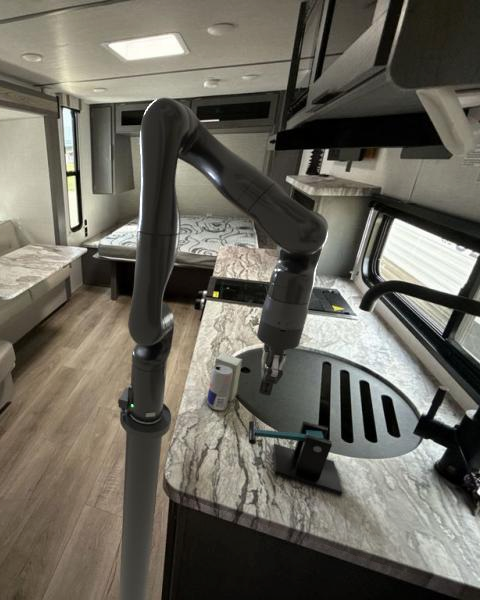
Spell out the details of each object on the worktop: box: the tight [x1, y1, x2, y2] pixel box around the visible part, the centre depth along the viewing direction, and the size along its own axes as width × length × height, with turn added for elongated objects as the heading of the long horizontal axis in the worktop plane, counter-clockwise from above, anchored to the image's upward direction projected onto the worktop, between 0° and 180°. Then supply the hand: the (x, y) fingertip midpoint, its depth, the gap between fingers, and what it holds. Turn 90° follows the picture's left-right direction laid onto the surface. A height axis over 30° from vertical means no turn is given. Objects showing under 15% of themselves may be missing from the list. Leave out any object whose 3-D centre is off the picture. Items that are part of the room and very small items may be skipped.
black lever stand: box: [272, 420, 343, 497], centre depth 66 cm, size 12×8×11 cm, turn 67°
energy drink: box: [206, 363, 233, 411], centre depth 85 cm, size 5×5×12 cm
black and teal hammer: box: [248, 420, 324, 445], centre depth 67 cm, size 14×6×2 cm, turn 67°
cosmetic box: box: [214, 352, 243, 402], centre depth 89 cm, size 6×4×12 cm
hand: (264, 392), depth 65 cm, fingers closed
